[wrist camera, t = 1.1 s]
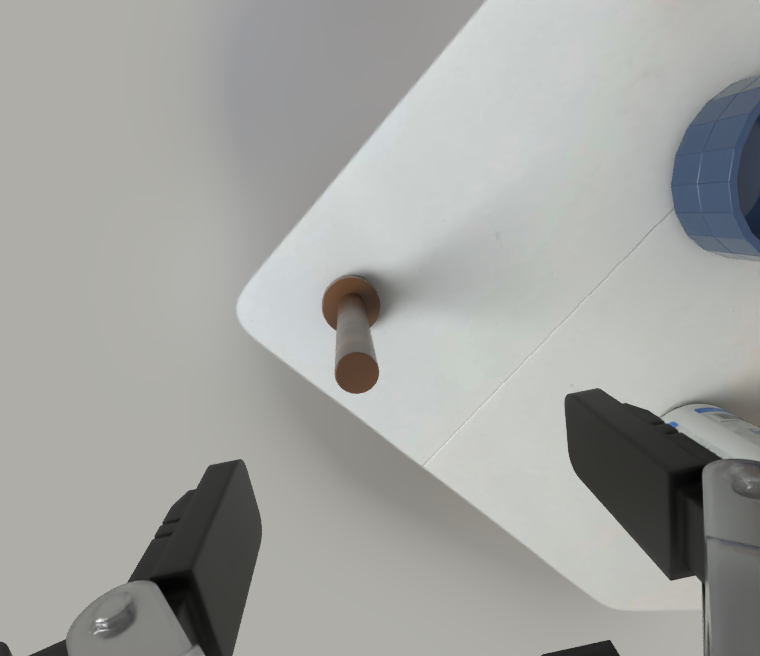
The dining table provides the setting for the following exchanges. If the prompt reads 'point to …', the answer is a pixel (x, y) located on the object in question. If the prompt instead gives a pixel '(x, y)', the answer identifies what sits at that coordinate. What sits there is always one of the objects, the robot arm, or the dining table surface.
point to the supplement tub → (717, 430)
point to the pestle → (353, 331)
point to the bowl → (722, 174)
